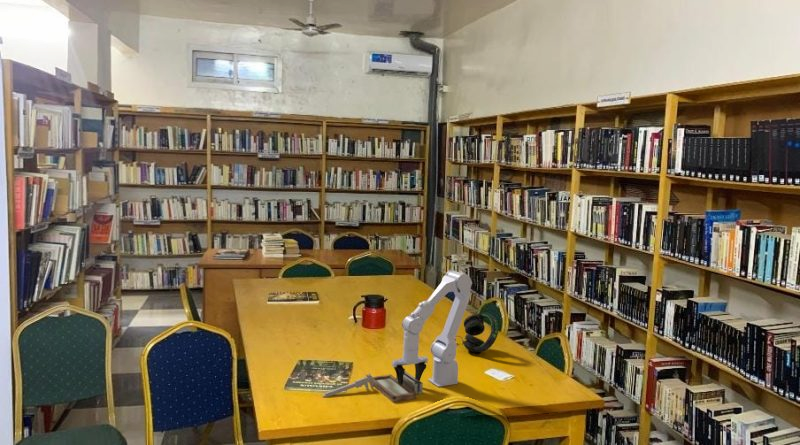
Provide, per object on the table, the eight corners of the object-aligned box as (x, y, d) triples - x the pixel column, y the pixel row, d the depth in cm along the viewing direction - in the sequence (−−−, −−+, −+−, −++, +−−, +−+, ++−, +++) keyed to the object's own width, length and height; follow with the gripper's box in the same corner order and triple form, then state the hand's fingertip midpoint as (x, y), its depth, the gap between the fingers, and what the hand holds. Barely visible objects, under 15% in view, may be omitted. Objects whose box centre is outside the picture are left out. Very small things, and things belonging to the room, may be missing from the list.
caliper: (371, 388, 226) (372, 372, 225) (373, 389, 225) (373, 373, 224) (321, 397, 215) (322, 380, 215) (322, 398, 215) (323, 381, 214)
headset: (458, 363, 285) (502, 349, 264) (436, 353, 279) (480, 339, 258) (461, 328, 294) (504, 312, 274) (440, 318, 288) (482, 301, 268)
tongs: (403, 380, 235) (404, 368, 235) (422, 393, 222) (422, 381, 222) (396, 381, 234) (396, 370, 233) (414, 394, 221) (414, 382, 220)
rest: (390, 379, 235) (390, 374, 235) (415, 398, 217) (416, 393, 217) (368, 382, 231) (369, 377, 231) (393, 402, 213) (393, 396, 213)
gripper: (422, 343, 233) (420, 377, 234) (389, 346, 226) (387, 381, 228) (431, 348, 227) (429, 383, 228) (397, 352, 220) (395, 388, 221)
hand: (408, 382), depth 227 cm, fingers open, 7 cm apart
